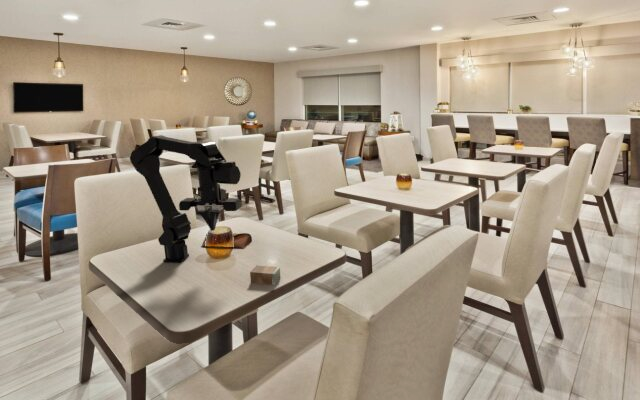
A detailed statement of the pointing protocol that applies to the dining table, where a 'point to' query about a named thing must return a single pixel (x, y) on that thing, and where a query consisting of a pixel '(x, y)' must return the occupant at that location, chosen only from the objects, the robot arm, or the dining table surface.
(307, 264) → the dining table surface
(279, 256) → the dining table surface
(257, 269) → the walnut block
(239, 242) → the sunglasses case
